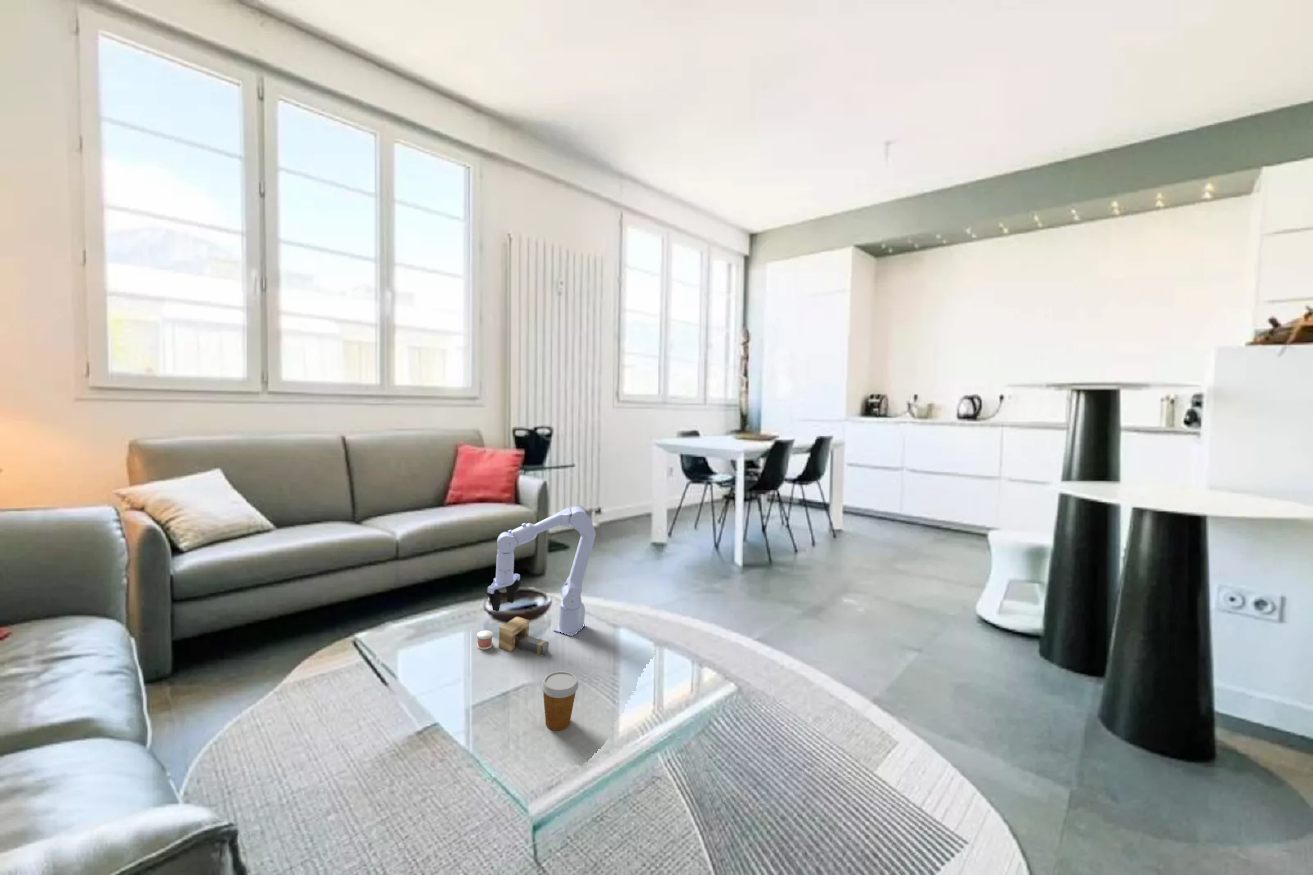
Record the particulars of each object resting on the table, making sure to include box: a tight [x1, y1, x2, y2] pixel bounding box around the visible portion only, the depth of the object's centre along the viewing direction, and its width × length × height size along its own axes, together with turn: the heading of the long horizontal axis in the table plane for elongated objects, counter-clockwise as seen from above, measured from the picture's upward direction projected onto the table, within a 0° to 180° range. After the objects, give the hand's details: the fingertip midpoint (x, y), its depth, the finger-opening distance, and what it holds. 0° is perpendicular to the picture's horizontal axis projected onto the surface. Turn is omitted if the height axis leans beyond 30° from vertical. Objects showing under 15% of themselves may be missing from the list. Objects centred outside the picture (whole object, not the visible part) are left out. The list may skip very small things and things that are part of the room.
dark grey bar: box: [515, 633, 550, 657], centre depth 183 cm, size 3×16×4 cm, turn 67°
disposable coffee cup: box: [540, 670, 579, 731], centre depth 146 cm, size 10×10×12 cm
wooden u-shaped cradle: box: [498, 616, 530, 652], centre depth 185 cm, size 9×5×7 cm, turn 157°
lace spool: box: [476, 630, 494, 650], centre depth 182 cm, size 5×5×4 cm
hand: (503, 606), depth 191 cm, fingers open, 7 cm apart
